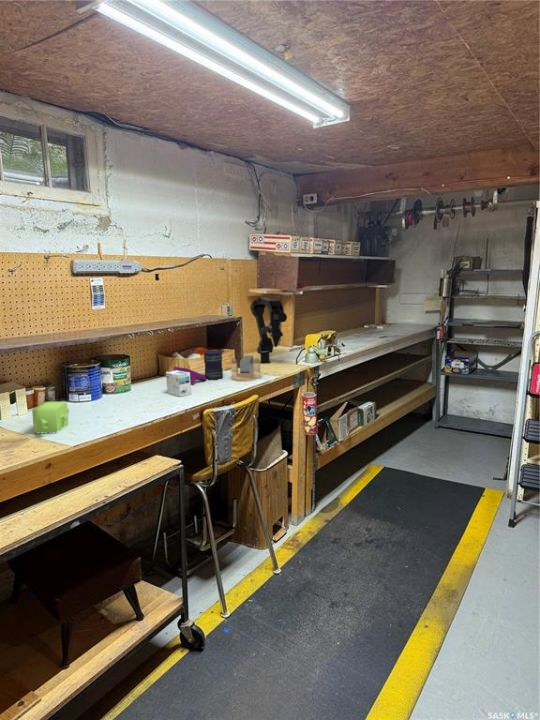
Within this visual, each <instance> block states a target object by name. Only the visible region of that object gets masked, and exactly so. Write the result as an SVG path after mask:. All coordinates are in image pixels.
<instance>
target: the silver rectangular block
mask: <svg viewBox="0 0 540 720" xmlns="http://www.w3.org/2000/svg"><path fill="white" fill-rule="evenodd" d="M253 363H254V354H253V355H251V354H250V355H243V357H242V359H240V361H239V373H253V372H254V364H253Z"/></svg>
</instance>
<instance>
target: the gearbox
mask: <svg viewBox="0 0 540 720" xmlns="http://www.w3.org/2000/svg"><path fill="white" fill-rule="evenodd" d="M31 412H32V423H33V424H32V425H33V433H34V434H38V433H37V432H57V431H59V430H60V429H61V428H63V427H64V426H65V427H66V425H67V424H68V425H69V414H70V409H69V408H68V402H67V401H43V402H42V403H40V404H39V405H36V406H35V407H34V408H32V411H31ZM68 425H67V426H68ZM65 427H64V428H65ZM64 428H63V429H64ZM35 432H36V433H35ZM59 432H60V431H59Z"/></svg>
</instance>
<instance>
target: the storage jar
mask: <svg viewBox="0 0 540 720" xmlns="http://www.w3.org/2000/svg"><path fill="white" fill-rule="evenodd" d="M203 362H204V375H205V376H207V377H206V379H208V380H207V381H210V380H213V381H219V380H218V379H221V380H223V379H224V376H223V375H224V372H223V371H224V369H223V351H222V350H219V349H218V350H217V349H213V350H212V349H211V350H205V351H203ZM222 378H223V379H222Z"/></svg>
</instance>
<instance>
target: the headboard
mask: <svg viewBox="0 0 540 720" xmlns="http://www.w3.org/2000/svg"><path fill="white" fill-rule="evenodd" d="M253 361H254V363H253V364H254V373H240V372H239V369H238V361H237V358H234V357H233V358H232V359H231V363H230V370H231V380H232V381H236V382H254V381H255V380H254V379H260V380H261V363H260V358H258V357H255V358H253ZM253 380H254V381H253Z"/></svg>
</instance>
